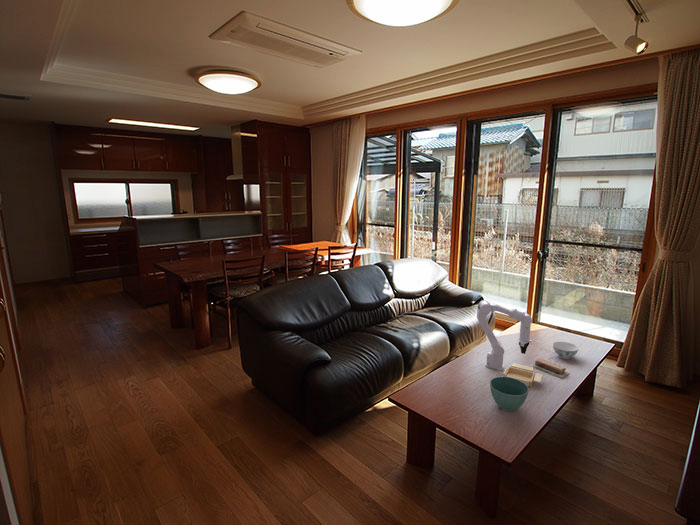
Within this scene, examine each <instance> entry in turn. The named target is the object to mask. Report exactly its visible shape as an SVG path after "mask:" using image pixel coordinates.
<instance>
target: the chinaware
mask: <svg viewBox="0 0 700 525" xmlns="http://www.w3.org/2000/svg"><path fill="white" fill-rule="evenodd" d="M552 348H553V351H554V352H555V353H556V354H557V355H558V357H559V358H560V359H564V360H570V359H571V358H573V357H574V356H576V355H577V353H578V352H579V346H577V345H576V344H573V343H570V342H567V341H554V342H553V343H552Z"/></svg>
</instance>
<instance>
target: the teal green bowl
mask: <svg viewBox="0 0 700 525" xmlns="http://www.w3.org/2000/svg"><path fill="white" fill-rule="evenodd" d="M489 386H490V393H491V396H492V398H493V401H494V402H495V404H496V405H497V406H498V408H500V410H503V411H505V412H515V411H516V410H518V409H519V408H520V407H522V406H523V404H525V402H526V399H527V398H528V395H529V386H527V385H526V384H524V383H523V382H521V381H519V380H517V379H514V378H510V377H503V376H498V377H497V376H496V377H493V378H492V379H490V381H489Z"/></svg>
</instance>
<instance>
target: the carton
mask: <svg viewBox="0 0 700 525" xmlns="http://www.w3.org/2000/svg"><path fill="white" fill-rule="evenodd" d="M535 375H536V373H535V372H534V371H533V372H530V371H526V370H522V369H518V368H513V367H511V366H506V367H505V369H504V372H503V373H502V377H510V378H514V379H517V380H519V381H521V382H523V383H524V384H526V385H527V387H528V388H531V387H532V386H533V383H534V382H533V381H534V378H535Z"/></svg>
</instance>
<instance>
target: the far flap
mask: <svg viewBox="0 0 700 525" xmlns="http://www.w3.org/2000/svg"><path fill="white" fill-rule="evenodd" d="M542 380H543V374H541V373H537V372H536V373H535V376H534V380H533V383H539V384H541V381H542Z"/></svg>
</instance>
